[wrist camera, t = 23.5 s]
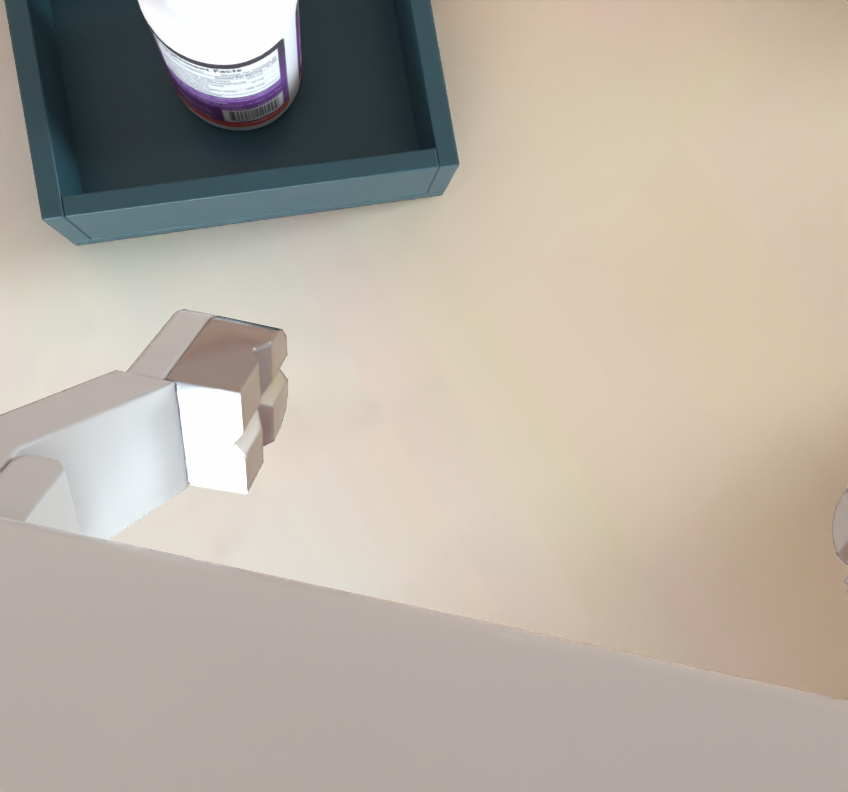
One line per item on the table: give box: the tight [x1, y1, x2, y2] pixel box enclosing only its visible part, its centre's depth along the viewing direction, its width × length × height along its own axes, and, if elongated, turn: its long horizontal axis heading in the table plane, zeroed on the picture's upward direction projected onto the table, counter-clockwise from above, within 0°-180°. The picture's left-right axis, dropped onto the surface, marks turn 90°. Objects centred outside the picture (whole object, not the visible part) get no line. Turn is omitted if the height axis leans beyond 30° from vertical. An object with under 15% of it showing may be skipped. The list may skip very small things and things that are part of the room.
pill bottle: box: [138, 0, 302, 131], centre depth 28 cm, size 5×5×10 cm
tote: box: [5, 0, 459, 245], centre depth 32 cm, size 16×13×4 cm
